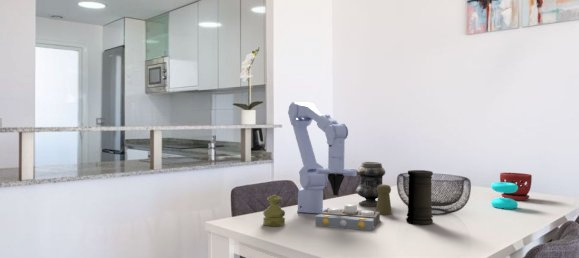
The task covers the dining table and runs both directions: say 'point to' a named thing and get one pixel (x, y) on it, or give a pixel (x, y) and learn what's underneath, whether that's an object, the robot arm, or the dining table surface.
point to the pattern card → (345, 222)
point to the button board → (354, 215)
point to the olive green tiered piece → (274, 213)
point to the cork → (383, 200)
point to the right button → (367, 213)
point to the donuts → (504, 202)
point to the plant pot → (522, 190)
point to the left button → (334, 210)
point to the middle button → (350, 209)
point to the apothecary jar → (369, 182)
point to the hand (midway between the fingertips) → (335, 195)
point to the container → (419, 197)
